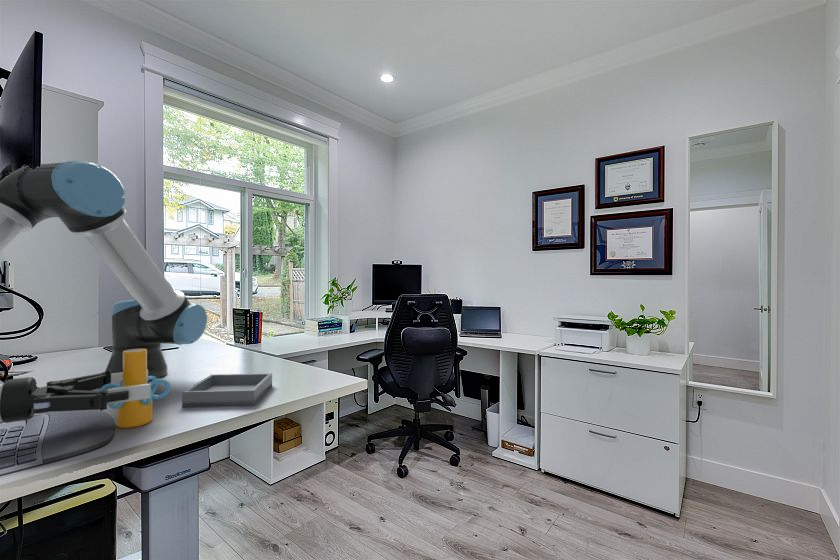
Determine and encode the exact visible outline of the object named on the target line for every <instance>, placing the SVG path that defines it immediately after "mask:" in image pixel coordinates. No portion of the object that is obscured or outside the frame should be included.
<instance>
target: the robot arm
mask: <svg viewBox="0 0 840 560" xmlns="http://www.w3.org/2000/svg"><path fill="white" fill-rule="evenodd" d="M39 164H40V167H39V166H37V167H36V168H35V169H32V168H30V167H29V166H28V165H25V166H22V167H21V168H18V169H16V170H14V171H12V172H11V173H10V174H9V173H8V175H6V176H5V177H4V178H2V179H1V180H0V253H1V251H3V250H4V249H5V248H6V246H8V245H10V244H9V243H11V242H12V241H13V240H14V239H16V237H17V236H18V235H19V234H20V233H28V232H30V231H31V230H32V229H34V227H35V226H37V225H38V224H39V223H41V222H43V221H45V220H47V219H50V218H59V219H60V221H61V222H62V223H63V224H64V225H65V226H66V228H67V229H68V230H69V231H70V232H71V233H72V234H76V235H81V236H84V238H85V239H86V240H87V242H88V243H90V245H91V246H92V247H93V249H94V250H95V251H96V253H97V254H98V255H99V256H100V258H101V259H102V260H103V262H105V264H106V265H107V266H108V268H109V269H110V270H111V271H112V272H113V274H114V275H115V277H117V279H118V280H119V281H120V282H121V284H122V285H123V287H125V289H126V290H127V291H128V292H129V294H130V295H131V296H132V298H133V299H130V300H129V299H128V300H121V301H118V302H115V303H114V304H113V306H112V314H111V329H112V330H111V338H112V340H111V341H112V342H111V343H112V345H111V346H112V351H111V355H110V357H109V361H108V364H107V367H106V368H105V371H103V372H99V373H94V374H88V375H83V376H78V377H77V376H76V377H71V378H67V379H62V380H51V381H48V382H46V385H45V386H41V387H38V386H37V380H36V379H35V377H20V378H12V379H7V380H5V381H4V382H3V381H2V380H0V422H1V421H2V422H3V423H5V424H9V423H15V422H21V421H28V420H31V419H32V418H34V416H35V414H37V415H38V414H43V413H51V412H72V411H73V412H75V411H95V410H96V411H97V410H99V411H105V410H107V409H108V405H107V403H108V404H114V403H115V404H118V403H121V402H128V401H135V400H141V399H148V398H150V384H149V383H147V384H142V385H135V386H127V387H119V388H114V387H110V388H107V390H104V391H99V390H98V389H100V388H101V387H103V386H104V385H106V384H110V383H114V384H118V385H120V382H121V380H122V379H123V351H125V350H131V349H147V377H149V376H154V377H156V378H157V379H161V378H162V377H165V376H166V375H168V365H167V361H166V359H165V357H164V354H163V352H162V348H161V347H162V346H161V344H164V345H176V346H177V345H179V346H182V345H190V344H193V343H195V342H197V341H199V339H200V338H201V337H202V336H203V335H204V333H205V330H206V327H207V323H208V315H207V311H206V309H205V308H204V307H203V306H202V305H201V304H199V303H194V302H193V303H191V302H190V301H189V300H188V298H187V296H186V295H185V294H184V292H183V291H180V290H174V289H173V287H172V286H171V284H170V283H169V281H168V280H167V278H166V277H165V275H164V274H163V273H162V272H161V270H160V269H159V267H158V266H157V264H156V263H155V262H154V259H153V258H152V257H151V256H150V255H149V253H148V251H147V250H146V249H145V247H144V246H143V245H142V243H141V242H140V240H139V239H138V237H137V236H136V235H135V234H134V232H133V230H132V229H131V228H130V226H129V225H128V223H127V222H126V220H125V219H124V218H125V215H126V213H127V211H126V210H127V209H126V208H125V207H124V205H125V202H126V197H124V196H125V195H126V193H125V192H126V191H125V189H124V186H123V185H122V183H121V181H120V179H119V178H118V177H117V176H116V175H115V174H114V173H113V172H112V171H111V170H109V169H108V168H106V167H104V166H101V165H100V164H96V163H93V162H89V161H88V162H87V161H77V160H73V161H72V160H70V161H65V162H55V163H39ZM27 167H28V168H27ZM24 169H25V170H24ZM23 170H24V171H23ZM22 171H23V172H22ZM20 174H21V175H20ZM19 176H20V177H19ZM18 178H19V179H18ZM17 183H18V187H17ZM18 191H19V192H18Z"/></svg>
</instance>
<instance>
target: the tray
mask: <svg viewBox="0 0 840 560" xmlns="http://www.w3.org/2000/svg"><path fill="white" fill-rule="evenodd" d="M272 387H273V373H238V374H237V373H236V374H235V373H234V374H233V373H230V374H229V373H227V374H226V373H225V374H224V373H223V374H210V375H209V376H207V377H204V378H203V379H202V380H199V381H198V382H197V383H195V384H193V385H192V386H190V387H189V388H187V389H185V390H183V391H182V392H181V394H182V395H181V397H182V399H181V402H182V403H181V408H202V407H203V408H205V407H207V408H208V407H209V408H210V407H241V406H243V407H244V406H255V405H256V404H257V403H258V402H259V401H260V400H261V399H262V397H264V396H265V394H267V393H268V392H269V390H270V389H272Z"/></svg>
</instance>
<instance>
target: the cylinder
mask: <svg viewBox="0 0 840 560" xmlns="http://www.w3.org/2000/svg"><path fill="white" fill-rule="evenodd" d="M150 380H151V381H150ZM149 381H150V382H149ZM159 383H160V384H163V385H164V386H165V389H164V390H165V391H164V392H163V393H161V394H159V395H157V394H155V393H156V392H157V389H158V386H159ZM142 384H150V398H148V399H141V400H135V401H128V402H121V403H114V404H108V403H107V406H108V407H109V408H111V409H113V410H116V426H117V427H118V428H120V429H121V428H122V429H128V428H129V429H130V428H137V427H141V426H143V425H147V424H149V423H150V422H152V420H153V409H154V407H153V406H154V405H153V403H154V402H153V400H160V399H163V398H165V397H166V396H167V395H169V392H170V391H171V384H170V383H169V381H167V380H166V379H163V378H156V377H154V376H149V377H147V349H131V350H125V351H123V379H122V380H121V382H120V385H118V384H114V383H110V384H106V385H104V386H103V387H101V388H99V390H98V391H106V390H108V389H111V388H119V387H127V386H135V385H142Z"/></svg>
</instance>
